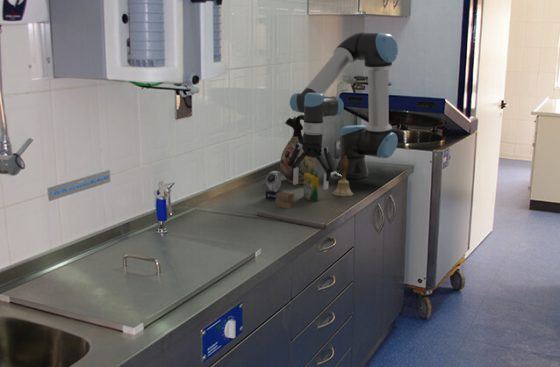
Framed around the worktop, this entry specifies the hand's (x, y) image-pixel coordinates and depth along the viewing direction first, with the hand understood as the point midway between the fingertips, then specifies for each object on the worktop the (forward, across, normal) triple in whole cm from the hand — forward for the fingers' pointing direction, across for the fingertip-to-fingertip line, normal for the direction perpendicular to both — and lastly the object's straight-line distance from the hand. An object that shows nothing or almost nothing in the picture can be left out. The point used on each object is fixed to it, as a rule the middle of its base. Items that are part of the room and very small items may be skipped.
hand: (310, 186), depth 261 cm
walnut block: (+5, -3, -15) cm, 16 cm away
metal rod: (+6, +9, -31) cm, 33 cm away
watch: (+6, -12, -8) cm, 15 cm away
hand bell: (+5, +7, +15) cm, 18 cm away
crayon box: (+5, 0, 0) cm, 5 cm away
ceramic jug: (+5, -18, +22) cm, 29 cm away
